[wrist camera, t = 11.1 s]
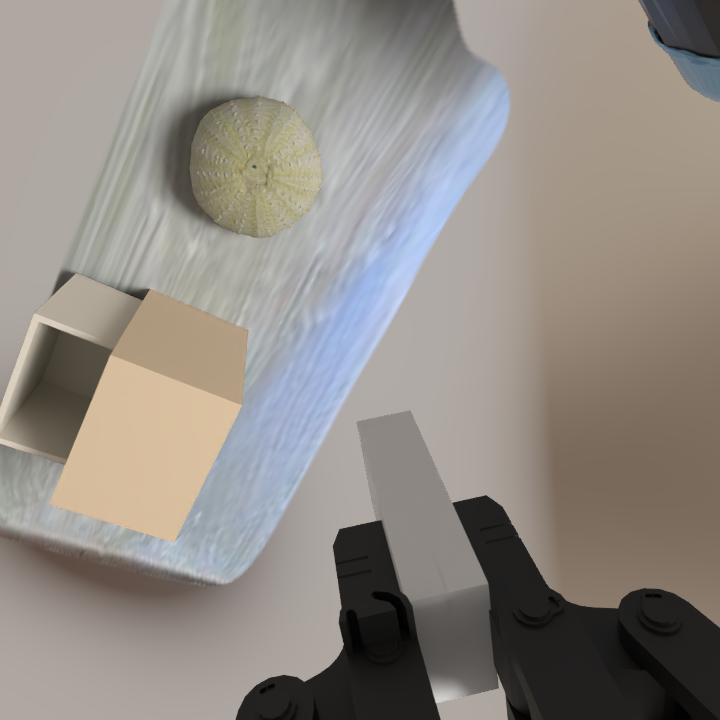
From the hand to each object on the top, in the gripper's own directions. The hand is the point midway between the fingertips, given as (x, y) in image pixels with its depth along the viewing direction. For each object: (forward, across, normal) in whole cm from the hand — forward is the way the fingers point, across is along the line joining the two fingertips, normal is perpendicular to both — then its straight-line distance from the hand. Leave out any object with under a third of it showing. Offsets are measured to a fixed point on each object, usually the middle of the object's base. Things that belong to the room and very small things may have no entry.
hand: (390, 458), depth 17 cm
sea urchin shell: (+33, -3, +5) cm, 33 cm away
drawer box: (+32, -16, -7) cm, 36 cm away
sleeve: (+32, -13, -9) cm, 36 cm away
